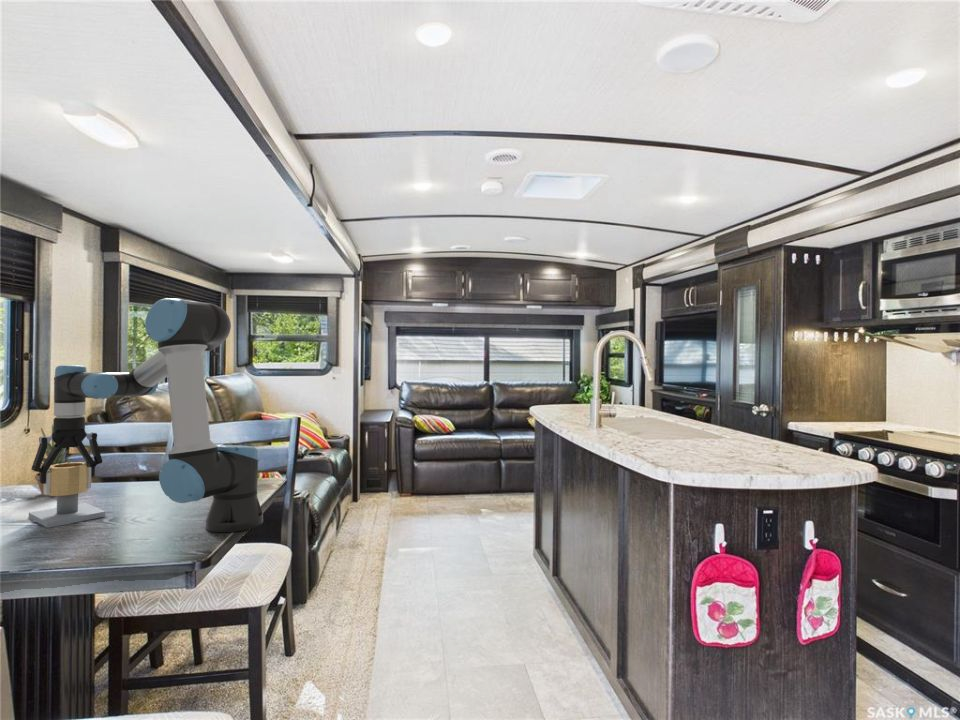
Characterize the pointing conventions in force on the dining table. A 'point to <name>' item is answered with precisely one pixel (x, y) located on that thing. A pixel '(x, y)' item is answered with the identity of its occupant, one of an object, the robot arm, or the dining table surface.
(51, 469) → the bronze sleeve
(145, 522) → the dining table surface
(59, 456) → the potted plant
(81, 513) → the block
